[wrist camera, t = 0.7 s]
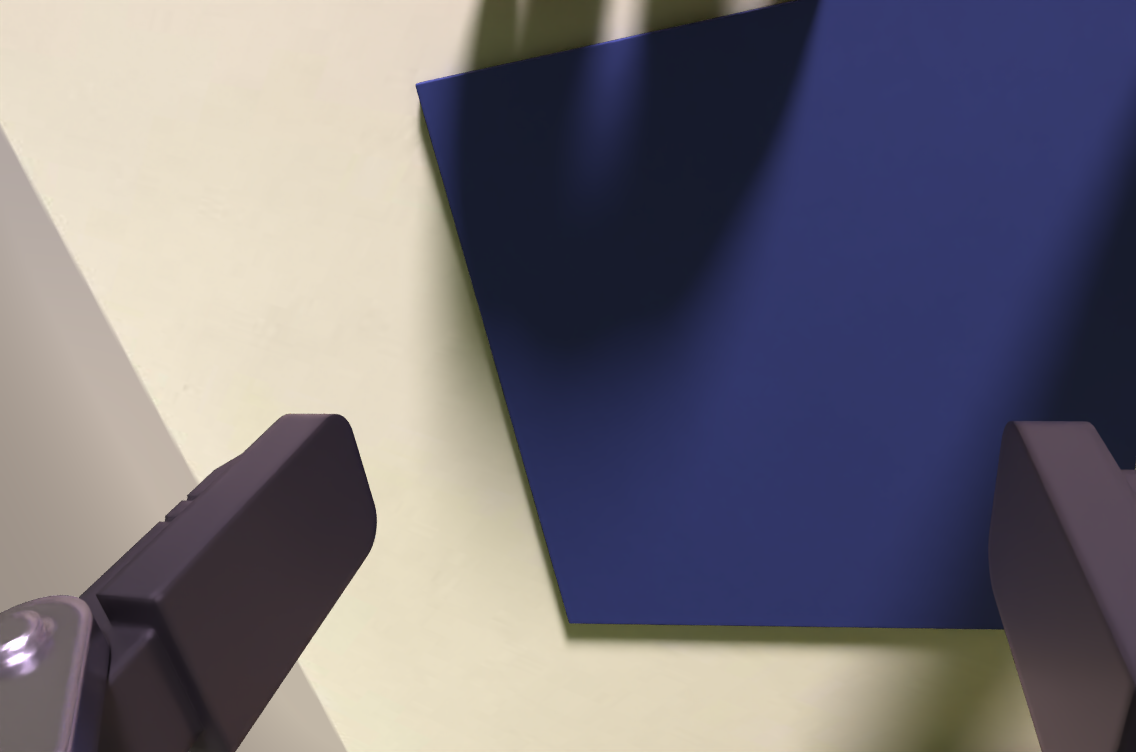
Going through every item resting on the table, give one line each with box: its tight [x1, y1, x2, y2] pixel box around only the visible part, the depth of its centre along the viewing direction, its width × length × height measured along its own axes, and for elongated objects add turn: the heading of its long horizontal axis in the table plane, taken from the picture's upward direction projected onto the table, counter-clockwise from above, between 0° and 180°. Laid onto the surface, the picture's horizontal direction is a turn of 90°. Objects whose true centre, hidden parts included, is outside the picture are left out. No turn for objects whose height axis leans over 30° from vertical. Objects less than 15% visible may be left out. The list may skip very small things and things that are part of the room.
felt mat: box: [416, 0, 1136, 629], centre depth 26 cm, size 22×20×1 cm
